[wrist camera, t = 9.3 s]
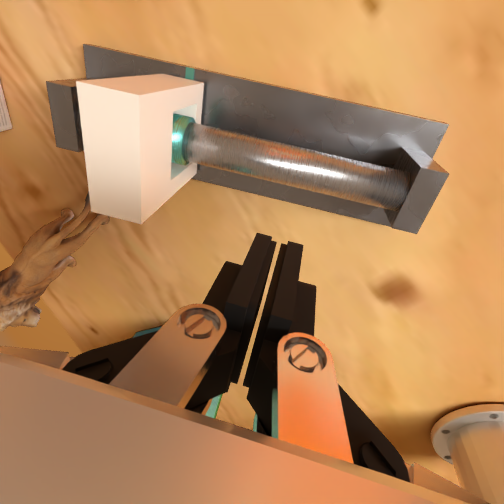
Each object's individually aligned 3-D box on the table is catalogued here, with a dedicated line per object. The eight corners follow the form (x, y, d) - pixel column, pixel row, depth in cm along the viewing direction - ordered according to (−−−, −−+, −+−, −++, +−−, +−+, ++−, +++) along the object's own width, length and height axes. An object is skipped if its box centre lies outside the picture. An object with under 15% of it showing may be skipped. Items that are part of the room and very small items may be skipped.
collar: (204, 82, 22) (139, 95, 14) (196, 173, 25) (141, 224, 17) (163, 73, 22) (76, 81, 14) (161, 165, 26) (91, 211, 18)
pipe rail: (444, 122, 21) (484, 141, 16) (395, 223, 26) (414, 263, 21) (89, 44, 23) (24, 39, 18) (99, 152, 27) (49, 173, 22)
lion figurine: (75, 291, 37) (14, 350, 30) (34, 266, 36) (-40, 320, 29) (119, 203, 30) (51, 252, 22) (69, 168, 29) (-20, 207, 21)
